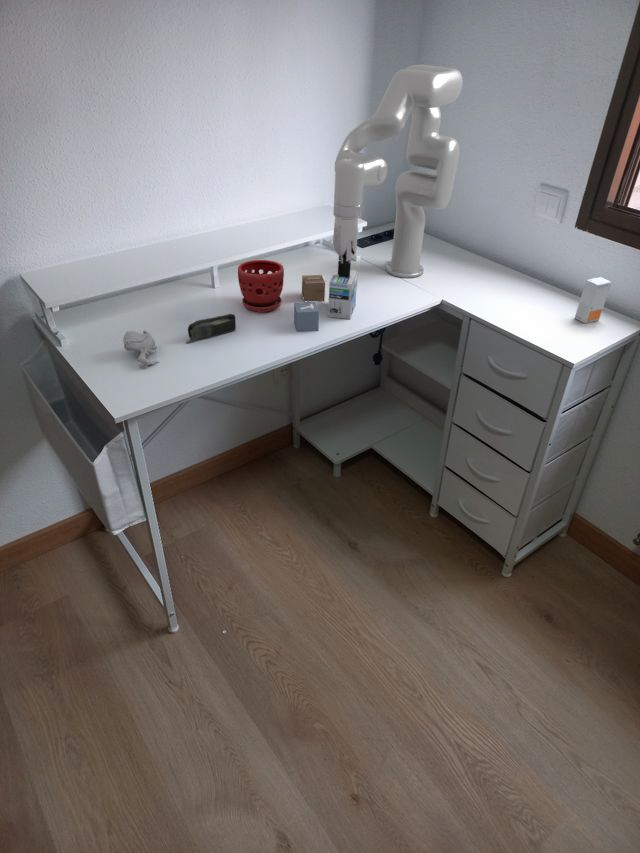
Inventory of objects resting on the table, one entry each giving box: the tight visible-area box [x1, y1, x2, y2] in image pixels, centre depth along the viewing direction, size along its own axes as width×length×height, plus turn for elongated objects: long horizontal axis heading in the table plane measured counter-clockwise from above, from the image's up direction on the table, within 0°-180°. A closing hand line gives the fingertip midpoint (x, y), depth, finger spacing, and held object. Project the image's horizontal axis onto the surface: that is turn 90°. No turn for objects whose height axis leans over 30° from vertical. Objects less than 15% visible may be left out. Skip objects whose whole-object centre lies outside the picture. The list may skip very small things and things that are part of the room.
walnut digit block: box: [301, 274, 326, 302], centre depth 188 cm, size 6×6×6 cm
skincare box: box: [574, 276, 613, 324], centre depth 180 cm, size 6×4×12 cm
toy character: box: [122, 330, 160, 369], centre depth 156 cm, size 6×9×12 cm
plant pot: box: [237, 259, 285, 313], centre depth 181 cm, size 13×13×12 cm
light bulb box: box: [327, 267, 359, 320], centre depth 180 cm, size 11×7×11 cm, turn 168°
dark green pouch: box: [185, 313, 237, 344], centre depth 166 cm, size 5×3×15 cm
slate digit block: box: [293, 301, 320, 333], centre depth 172 cm, size 6×6×6 cm
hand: (343, 275), depth 176 cm, fingers closed
